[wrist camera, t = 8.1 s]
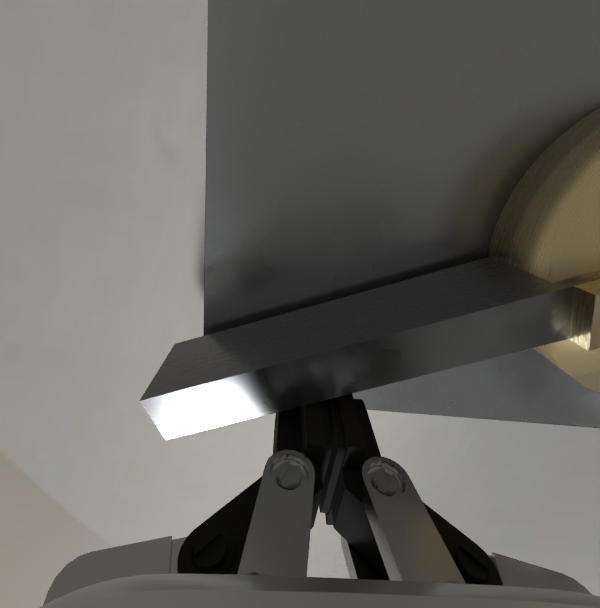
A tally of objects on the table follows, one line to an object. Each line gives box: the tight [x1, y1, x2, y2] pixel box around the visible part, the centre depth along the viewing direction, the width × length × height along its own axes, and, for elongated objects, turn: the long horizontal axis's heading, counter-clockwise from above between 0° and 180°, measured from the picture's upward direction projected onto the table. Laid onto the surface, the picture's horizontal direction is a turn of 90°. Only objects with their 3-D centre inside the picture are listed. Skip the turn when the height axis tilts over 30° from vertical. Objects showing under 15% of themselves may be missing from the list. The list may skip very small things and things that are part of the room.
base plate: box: [204, 0, 600, 428], centre depth 11 cm, size 20×15×2 cm
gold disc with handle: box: [140, 108, 600, 440], centre depth 9 cm, size 9×20×4 cm, turn 106°
